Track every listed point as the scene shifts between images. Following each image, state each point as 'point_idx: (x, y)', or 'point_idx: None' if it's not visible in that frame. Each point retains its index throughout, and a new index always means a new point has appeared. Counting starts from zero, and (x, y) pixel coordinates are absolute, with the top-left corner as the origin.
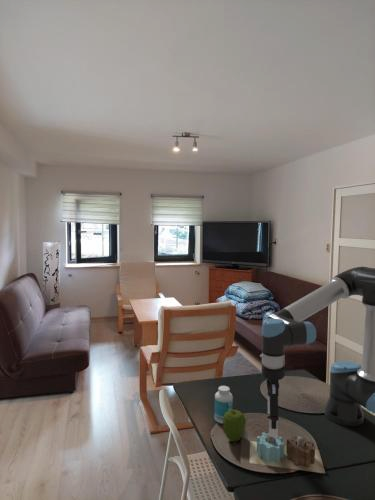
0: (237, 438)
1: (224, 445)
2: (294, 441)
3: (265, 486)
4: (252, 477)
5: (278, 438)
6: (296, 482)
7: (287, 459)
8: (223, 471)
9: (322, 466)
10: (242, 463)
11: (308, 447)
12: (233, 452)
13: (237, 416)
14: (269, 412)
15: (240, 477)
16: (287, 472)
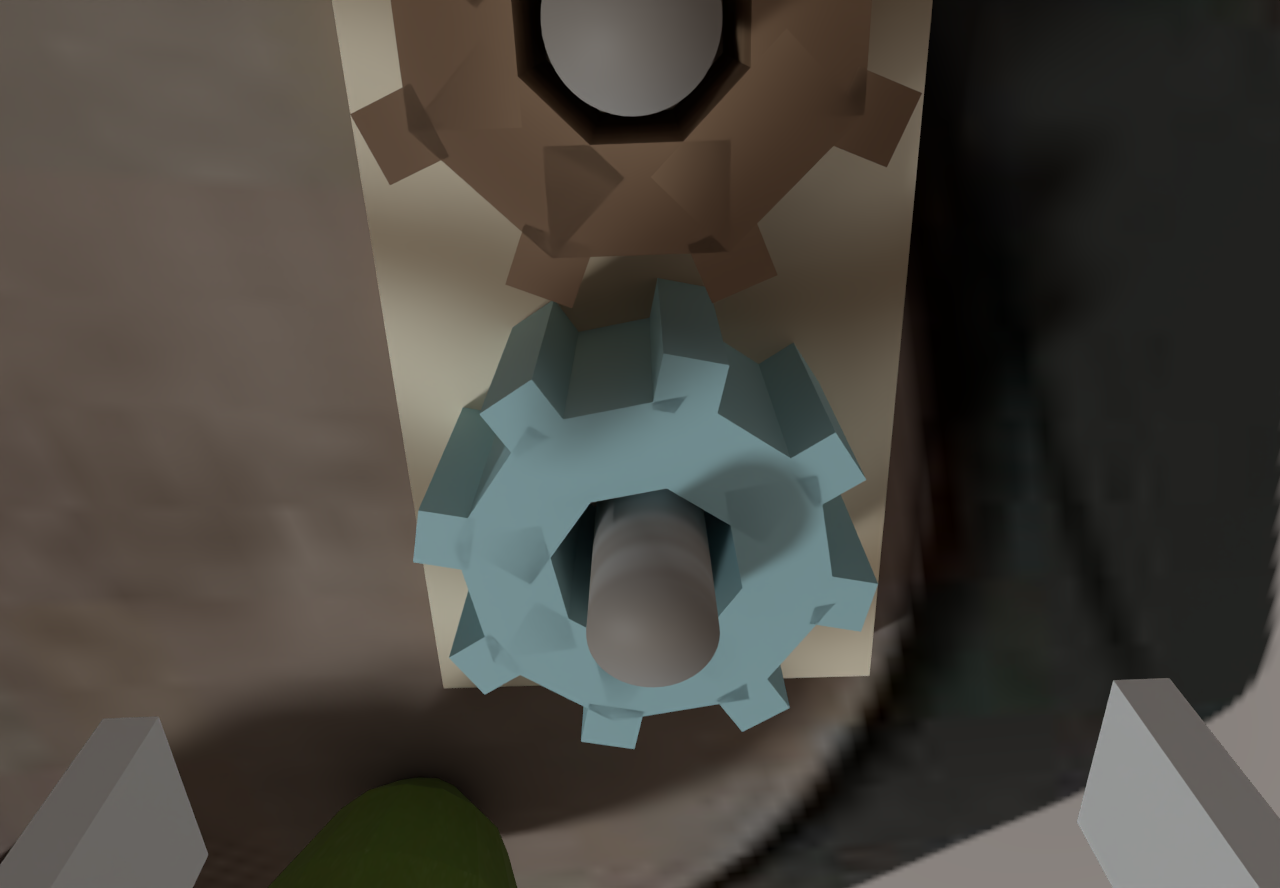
0: (491, 831)
1: (551, 866)
2: (585, 157)
3: (1150, 485)
4: (1015, 608)
5: (559, 451)
6: (1075, 113)
7: None
8: (951, 839)
9: None
10: (806, 704)
11: None
12: (644, 788)
13: None
14: (180, 858)
15: (1023, 709)
16: None
